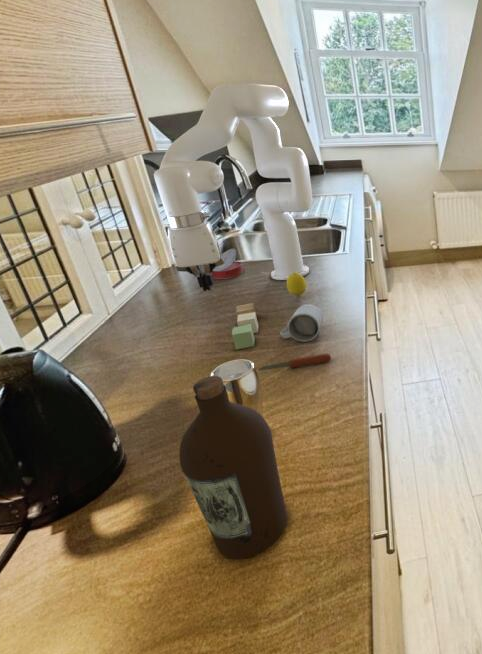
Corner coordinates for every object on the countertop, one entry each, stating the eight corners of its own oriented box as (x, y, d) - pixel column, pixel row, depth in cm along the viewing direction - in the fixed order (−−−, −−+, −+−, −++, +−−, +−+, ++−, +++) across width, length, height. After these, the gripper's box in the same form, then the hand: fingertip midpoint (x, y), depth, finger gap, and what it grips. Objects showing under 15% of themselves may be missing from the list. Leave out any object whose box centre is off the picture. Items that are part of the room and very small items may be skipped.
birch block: (240, 319, 127) (236, 305, 125) (256, 316, 128) (253, 302, 127) (239, 325, 123) (236, 311, 122) (256, 322, 125) (253, 308, 123)
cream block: (241, 328, 122) (238, 314, 120) (258, 325, 123) (255, 311, 121) (240, 335, 118) (236, 321, 116) (257, 332, 119) (254, 318, 118)
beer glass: (225, 440, 82) (203, 370, 76) (263, 421, 86) (245, 353, 80) (239, 460, 77) (217, 387, 71) (279, 439, 81) (261, 368, 75)
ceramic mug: (325, 325, 121) (320, 299, 118) (321, 340, 114) (316, 313, 111) (285, 330, 120) (279, 303, 117) (278, 345, 113) (271, 318, 110)
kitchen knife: (331, 359, 106) (329, 351, 105) (331, 362, 105) (330, 354, 104) (259, 371, 102) (257, 364, 101) (258, 375, 101) (256, 367, 100)
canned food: (242, 287, 161) (237, 268, 154) (211, 287, 158) (204, 268, 151) (245, 263, 168) (240, 244, 160) (215, 264, 165) (209, 244, 158)
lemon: (310, 293, 142) (306, 269, 139) (303, 300, 137) (298, 276, 134) (294, 292, 143) (289, 269, 140) (286, 300, 138) (280, 276, 134)
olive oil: (241, 494, 70) (198, 356, 60) (305, 502, 69) (271, 361, 59) (193, 559, 61) (133, 407, 51) (266, 569, 59) (218, 414, 49)
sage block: (236, 342, 115) (232, 327, 113) (254, 338, 116) (250, 324, 115) (235, 349, 111) (231, 334, 110) (254, 346, 113) (250, 331, 111)
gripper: (222, 212, 114) (240, 278, 122) (154, 220, 110) (177, 288, 118) (219, 219, 108) (238, 288, 116) (147, 228, 103) (172, 300, 111)
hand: (207, 288), depth 117 cm, fingers closed
